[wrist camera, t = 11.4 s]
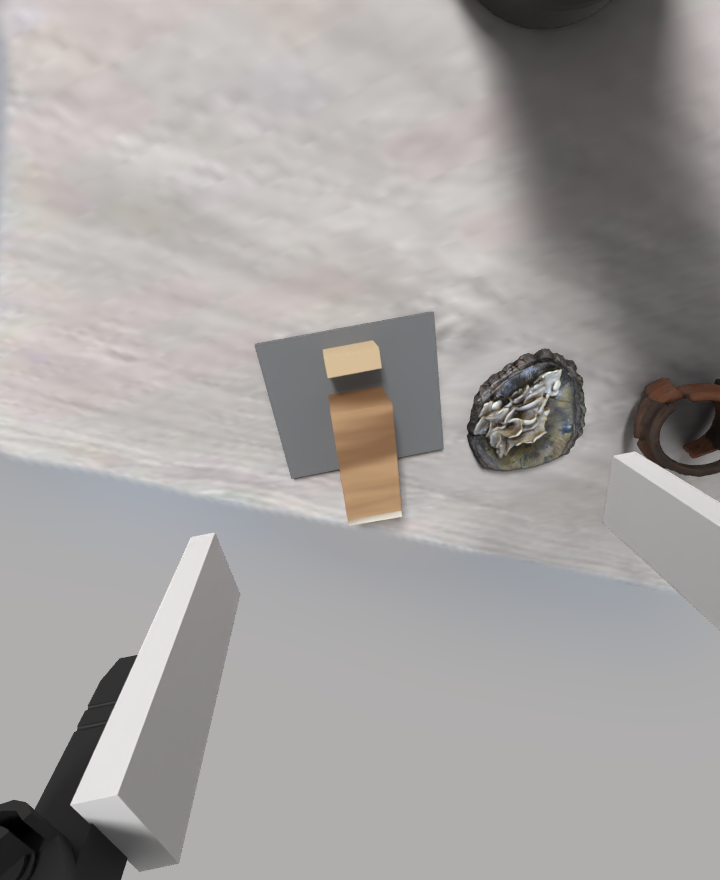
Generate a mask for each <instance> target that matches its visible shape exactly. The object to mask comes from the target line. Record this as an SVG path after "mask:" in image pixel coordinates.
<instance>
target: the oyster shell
mask: <svg viewBox="0 0 720 880" xmlns="http://www.w3.org/2000/svg"><path fill="white" fill-rule="evenodd" d="M576 370H577V367H576V365H575V363H574V361H572V360H565V359H564V357H563V356H562V355H559V354H558V353H552V352H551V351H550V350H549V349H542V350H539V351H538V352H537V353H536V354H534V355H533V354H530V353H527V354H524V355H522V356H520V357H519V359H518V360H517V361H515V362H513V363H509V364H508V365H506V366H505V367H504V368H503V370H502V371H499V372H498V373H496V374H493V375H492V376H490V377H489V379H488V380H487V381H485V383H484V384H483V385H481V386H480V389H479V392H478V393H477V394H476V395H475V397H474V404H473V408H472V410H471V416H470V421H469V423H468V425H467V430H468V432H469V433H468V435H467V438H468V442H469V445H470V447H471V449H472V451H473V454H474V456H475V457H476V459H477V460H478V462H479V463H480V464H481V465H482V466H483V467H484V468H489V469H494V470H503V471H505V470H507V471H509V470H515V469H523V468H529V467H533V466H538V465H540V464H544V463H547V462H549V461H552V460H554V459H557V458H558V457H560V456H561V455H566V454H568V453H569V452H570V449H571V448H572V447H573V446H574V444H575V441H576V439H578V438H579V437H580V436H581V435H582V433H583V429H582V428H583V427H584V426H585V422H584V417H585V412H586V407H585V404H584V392H583V389H582V385H583V378H582V377H581V376H580V375H579V374H577V373H576Z"/></svg>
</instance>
